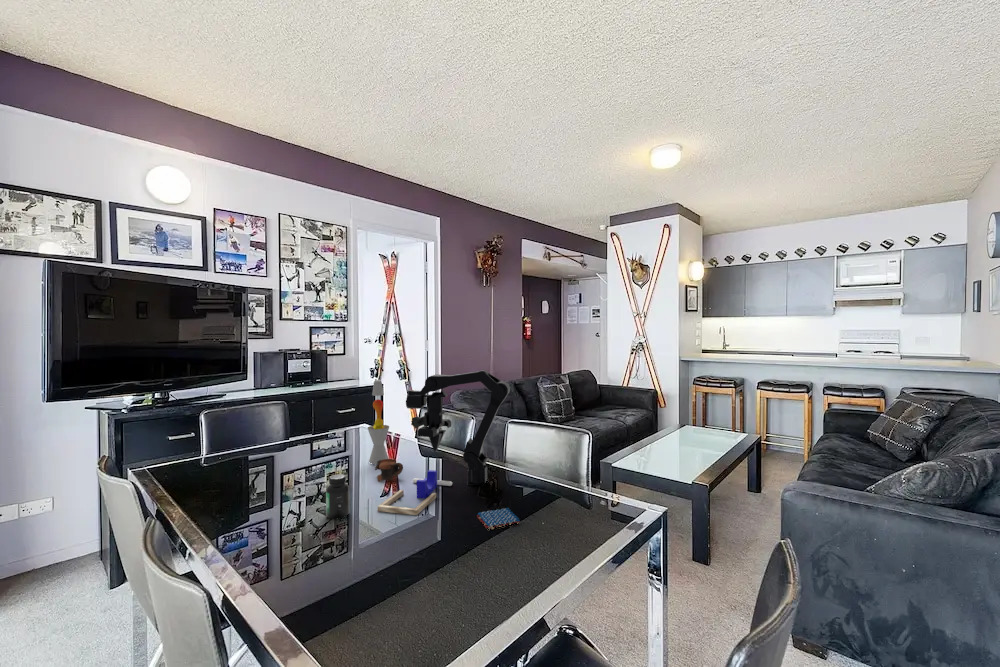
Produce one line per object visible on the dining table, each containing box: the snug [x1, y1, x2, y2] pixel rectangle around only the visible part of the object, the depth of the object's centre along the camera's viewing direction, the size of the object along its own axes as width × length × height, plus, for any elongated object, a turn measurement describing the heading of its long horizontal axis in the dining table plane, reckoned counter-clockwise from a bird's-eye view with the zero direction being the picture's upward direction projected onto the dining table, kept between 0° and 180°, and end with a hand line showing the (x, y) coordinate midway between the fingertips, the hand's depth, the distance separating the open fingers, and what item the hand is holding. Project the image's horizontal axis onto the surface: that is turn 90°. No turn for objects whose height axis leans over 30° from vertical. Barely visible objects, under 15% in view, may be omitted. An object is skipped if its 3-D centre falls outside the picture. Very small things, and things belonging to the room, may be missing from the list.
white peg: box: [412, 478, 453, 487], centre depth 172 cm, size 16×2×2 cm, turn 74°
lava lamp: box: [367, 379, 390, 465], centre depth 201 cm, size 9×9×35 cm
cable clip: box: [416, 469, 438, 500], centre depth 164 cm, size 12×4×6 cm, turn 168°
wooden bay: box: [377, 489, 437, 516], centre depth 153 cm, size 13×15×2 cm
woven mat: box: [476, 507, 521, 530], centre depth 139 cm, size 10×11×2 cm
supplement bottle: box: [325, 473, 351, 520], centre depth 144 cm, size 7×7×12 cm
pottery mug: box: [374, 458, 404, 482], centre depth 180 cm, size 12×10×8 cm
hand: (435, 450), depth 174 cm, fingers closed
